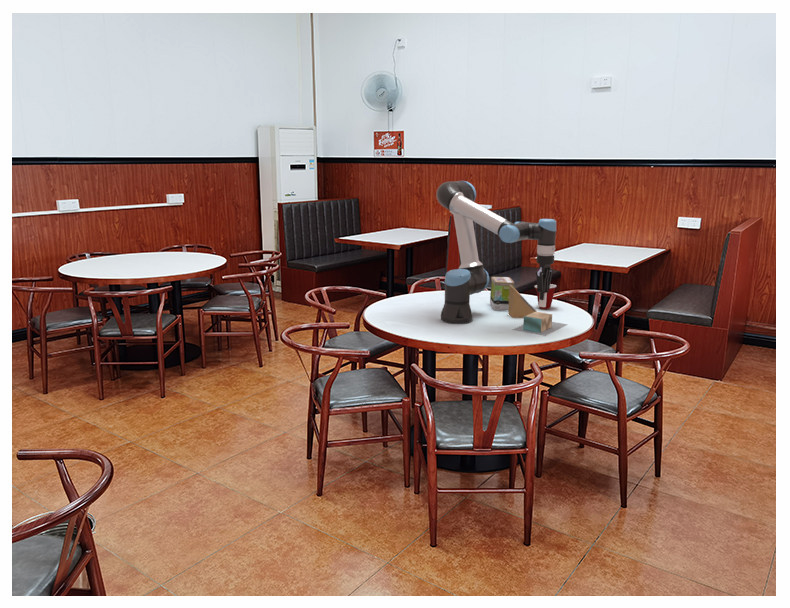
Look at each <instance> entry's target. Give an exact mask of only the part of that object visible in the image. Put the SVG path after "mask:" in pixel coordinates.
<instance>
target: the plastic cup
mask: <svg viewBox="0 0 790 608" xmlns="http://www.w3.org/2000/svg"><path fill="white" fill-rule="evenodd" d="M534 288H535V291H536V297H537V305H538V309H540V310H550V309H551V307H552V303H553V300H554V295H555V290H556V288H557V285H556V284H553V283H552V284H551V283H550V288H549V290H548V291H549V292H546V293H547V297H546V307H539V296H540V292H537V284H536V285H534Z"/></svg>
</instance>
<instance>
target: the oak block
mask: <svg viewBox="0 0 790 608" xmlns="http://www.w3.org/2000/svg"><path fill="white" fill-rule="evenodd" d="M552 322H553V313H547V312H541V311H537V312H534V313H531V314H529V315H527V316H524V318H523V323H522V325H523V330H527V331H532V332H538V333H541V332H543V331H545V330H547V329H549V328H551V327H552Z"/></svg>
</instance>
